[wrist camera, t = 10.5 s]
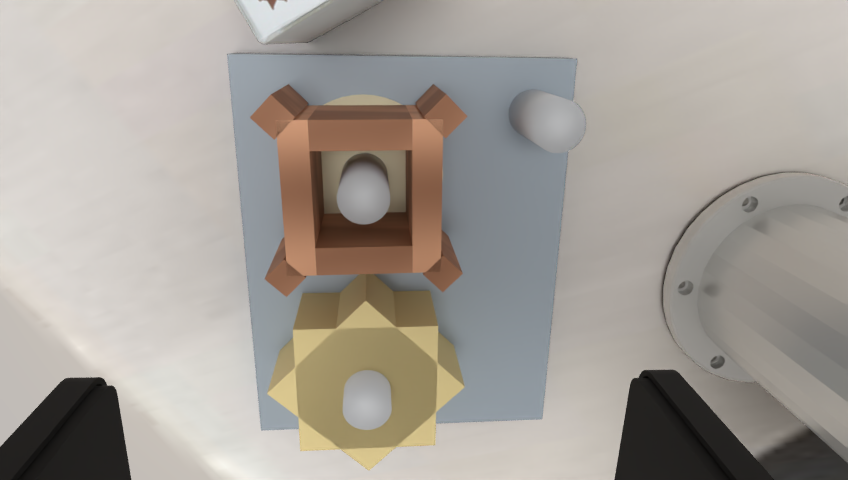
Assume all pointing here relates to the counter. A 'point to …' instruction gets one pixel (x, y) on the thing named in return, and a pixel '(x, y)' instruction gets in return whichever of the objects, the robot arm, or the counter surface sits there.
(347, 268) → the brown open boxy piece
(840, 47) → the counter surface
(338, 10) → the supplement box
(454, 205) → the gear board
